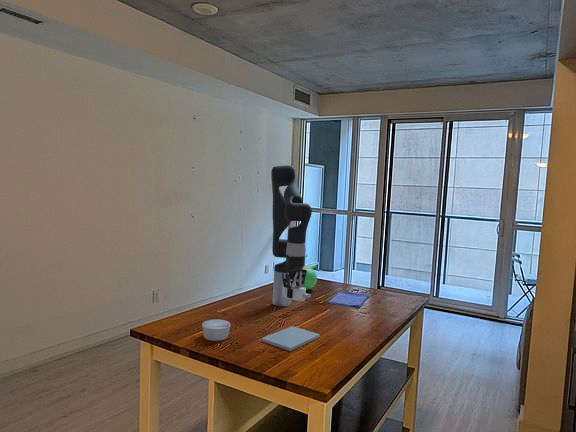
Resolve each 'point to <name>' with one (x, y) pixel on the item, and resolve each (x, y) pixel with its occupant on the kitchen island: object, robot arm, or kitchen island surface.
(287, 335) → the cutting board
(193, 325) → the kitchen island surface
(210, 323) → the ramekin
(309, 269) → the green apple
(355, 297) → the dish towel
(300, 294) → the rounded plug
